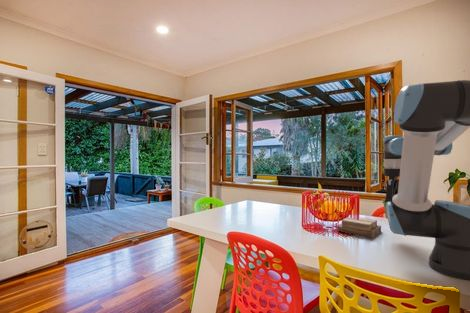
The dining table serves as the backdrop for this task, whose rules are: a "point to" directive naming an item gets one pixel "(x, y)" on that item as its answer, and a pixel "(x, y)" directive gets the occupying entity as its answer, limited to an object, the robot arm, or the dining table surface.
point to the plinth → (360, 232)
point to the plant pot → (385, 207)
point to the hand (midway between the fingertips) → (393, 215)
